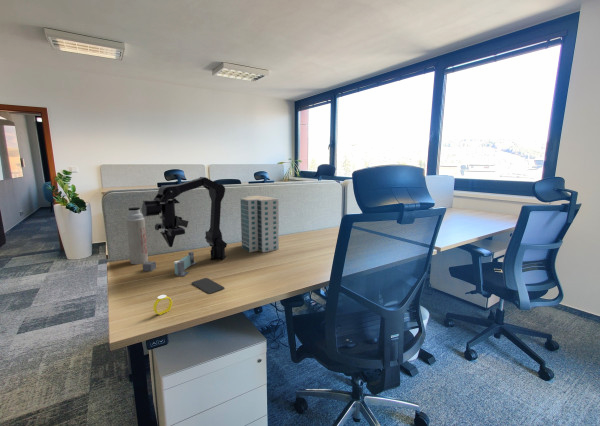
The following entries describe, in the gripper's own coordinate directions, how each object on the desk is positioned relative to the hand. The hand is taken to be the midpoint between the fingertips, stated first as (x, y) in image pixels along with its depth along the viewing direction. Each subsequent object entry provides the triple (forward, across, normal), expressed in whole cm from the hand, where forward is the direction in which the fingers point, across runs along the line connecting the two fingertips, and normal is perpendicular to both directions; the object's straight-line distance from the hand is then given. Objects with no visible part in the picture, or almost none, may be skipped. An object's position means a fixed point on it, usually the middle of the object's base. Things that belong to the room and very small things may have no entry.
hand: (170, 246), depth 132 cm
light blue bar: (+11, -3, -4) cm, 12 cm away
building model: (+12, 0, -52) cm, 53 cm away
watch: (+12, -36, +19) cm, 42 cm away
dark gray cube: (+12, +9, +7) cm, 16 cm away
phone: (+12, -28, -3) cm, 30 cm away
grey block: (+12, -8, -1) cm, 14 cm away
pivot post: (+12, +2, -10) cm, 16 cm away
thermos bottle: (+12, +24, +6) cm, 28 cm away
